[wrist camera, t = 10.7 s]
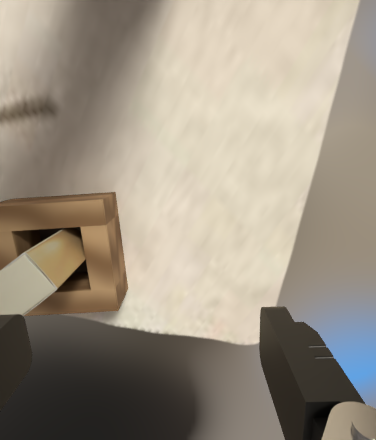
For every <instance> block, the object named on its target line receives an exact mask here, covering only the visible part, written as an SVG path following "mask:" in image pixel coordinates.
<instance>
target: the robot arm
mask: <svg viewBox="0 0 376 440" xmlns="http://www.w3.org/2000/svg"><path fill="white" fill-rule="evenodd" d="M259 349H260V359H261V365H262V368H263V372H264V375H265V378H266V381H267V384H268V387H269V390H270V394H271V397H272V400H273V403H274V406H275V409H276V412H277V416H278V419H279V422H280V425H281V428H282V431H283V434H284V437H285V440H376V409H375V408H373V407H371V406H369V405H366V404H365V402H364V401H363V399H362V398H361V397H360V395H359V394H358V392H357V391H356V389H355V388H354V386H353V385H352V383H351V382H350V380H349V379H348V377H347V376H346V374H345V373H344V371H343V370H342V368H341V367H340V365H339V364H338V362H337V361H336V359H334V358H333V355H332V353H331V352H330V350H329V349H328V348H326V345H325V343H324V341H323V340H322V338H321V337H320V335H319V334H318V332H316V331H315V330H314V329H312V328H311V327H310V326H308V325H307V324H306V323H304V322H294V320H293V319H292V317H291V315H290V313H289V312H288V310H287V309H286V307H262V308H261V313H260V346H259ZM31 362H32V351H31V346H30V341H29V337H28V332H27V328H26V324H25V319H24V317H23V316H22V315H20V314H7V315H0V411H1V410H2V408H3V407H4V405H5V404H6V402H7V401H8V399H9V398H10V397H11V395H12V394H13V393H14V391H15V390H16V388H17V387H18V386H19V384H20V383H21V381H22V380H23V379H24V377H25V376H26V374H27V373H28V371H29V368H30V366H31Z"/></svg>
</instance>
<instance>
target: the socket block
mask: <svg viewBox="0 0 376 440" xmlns="http://www.w3.org/2000/svg"><path fill="white" fill-rule="evenodd" d="M70 227H80V228H81V234H82V240H83V246H84V252H85V258H86V260H85V261H84V262H83V263H82V264H81V265H80V266H79V267H78V268H77V269H76V270H75V271H74V272H73V273H72V274H71V275H70V276H69V277H68V279H67V280H66V281H65V282H64V283H63V284H62V285H61V286H60V287H59V288H58V289H57V290H56V291H55V292H54V293H52V294H51V295H50V296H49V297H47V298H46V299H45V300H44V301H42V302H41V303H40V304H39V305H37V306H36V307H35V308H33V309H32V310H31V311H29V312H28V313H27V314H25V315H24V316H33V315H50V314H68V313H86V312H104V311H118V310H119V308H120V306H121V303H122V301H123V299H124V297H125V294H126V292H127V290H128V284H127V277H126V269H125V262H124V254H123V247H122V239H121V231H120V224H119V216H118V209H117V201H116V193H115V192H111V193H96V194H81V195H66V196H51V197H36V198H21V199H10V200H6V201H3V202H0V270H2V269H3V268H4V267H6V266H7V265H8V264H9V263H11V262H12V261H13V260H15V259H16V258H17V257H18V256H20V255H21V254H22V253H24V252H25V251H27V250H29V249H30V248H32V247H34V246H35V245H37V244H39V243H40V242H42V241H43V240H45V239H47V238H48V237H50V236H52V235H53V234H55V233H57V232H58V231H60V230H62V229H63V228H70Z"/></svg>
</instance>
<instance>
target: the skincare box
mask: <svg viewBox="0 0 376 440" xmlns="http://www.w3.org/2000/svg"><path fill="white" fill-rule="evenodd" d="M85 260H86V258H85V252H84V246H83V240H82V234H81V228H80V227H70V228H63V229H62V230H60V231H58V232H57V233H55V234H53V235H52V236H50V237H48V238H47V239H45V240H43V241H42V242H40V243H39V244H37V245H35V246H34V247H32V248H30V249H29V250H27V251H25V252H24V253H22V254H21V255H20V256H18V257H17V258H16V259H15V260H13V261H12V262H11V263H9V264H8V265H7V266H6V267H4V268H3V269H2V270H0V315H7V314H20V315H22V316H24V315H25V314H27V313H28V312H29V311H31V310H32V309H33V308H35V307H36V306H37V305H39V304H40V303H41V302H42V301H44V300H45V299H46V298H47V297H49V296H50V295H51V294H52V293H54V292H55V291H56V290H57V289H58V288H59V287H60V286H61V285H62V284H63V283H64V282H65V281H66V280H67V279H68V277H69V276H70V275H71V274H72V273H73V272H74V271H75V270H76V269H77V268H78V267H79V266H80V265H81V264H82V263H83V262H84V261H85Z"/></svg>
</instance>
